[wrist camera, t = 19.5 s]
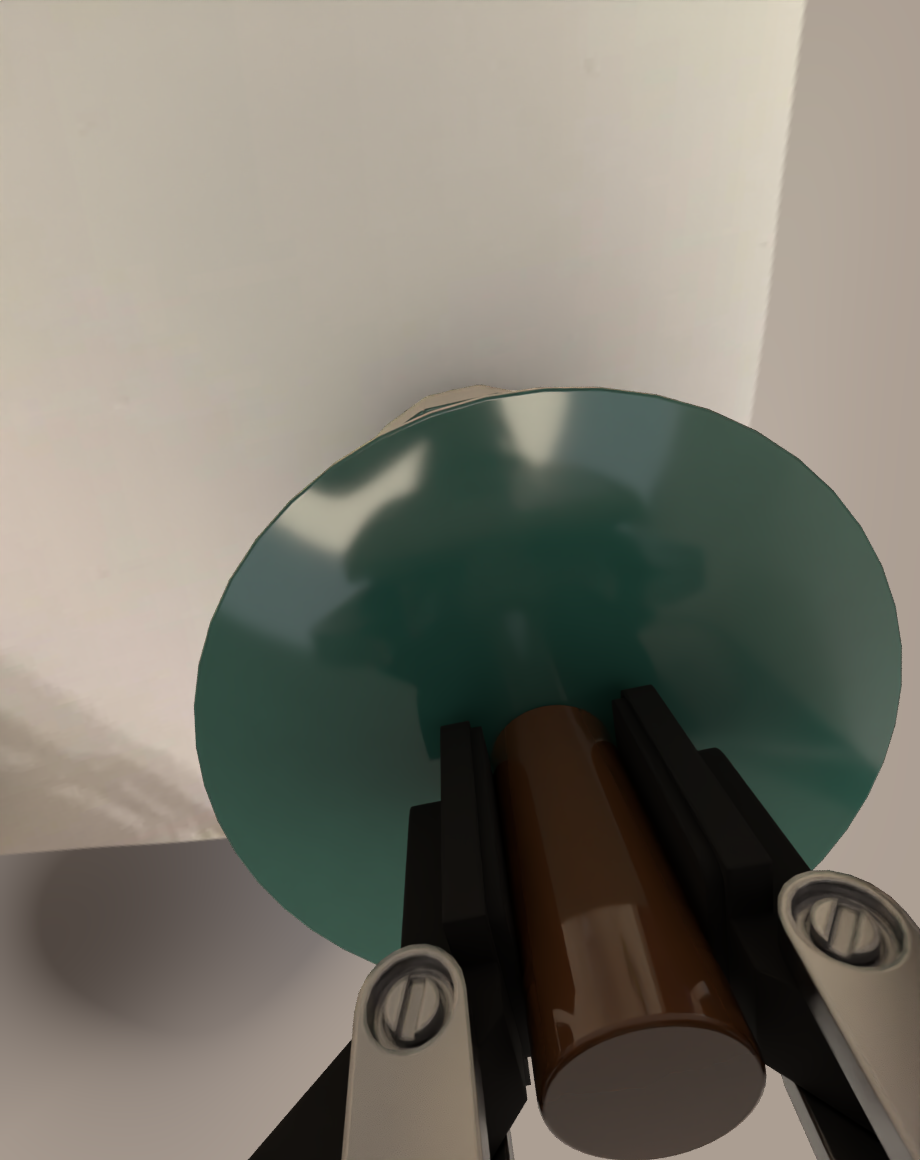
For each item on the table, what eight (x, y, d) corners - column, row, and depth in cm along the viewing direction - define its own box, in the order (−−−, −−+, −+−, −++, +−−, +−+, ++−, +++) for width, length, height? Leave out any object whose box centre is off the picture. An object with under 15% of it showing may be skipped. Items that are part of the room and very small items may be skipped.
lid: (100, 477, 10) (-469, 661, 4) (880, 304, 9) (1749, 178, 3) (325, 989, 15) (243, 1442, 8) (849, 892, 14) (1171, 1299, 8)
